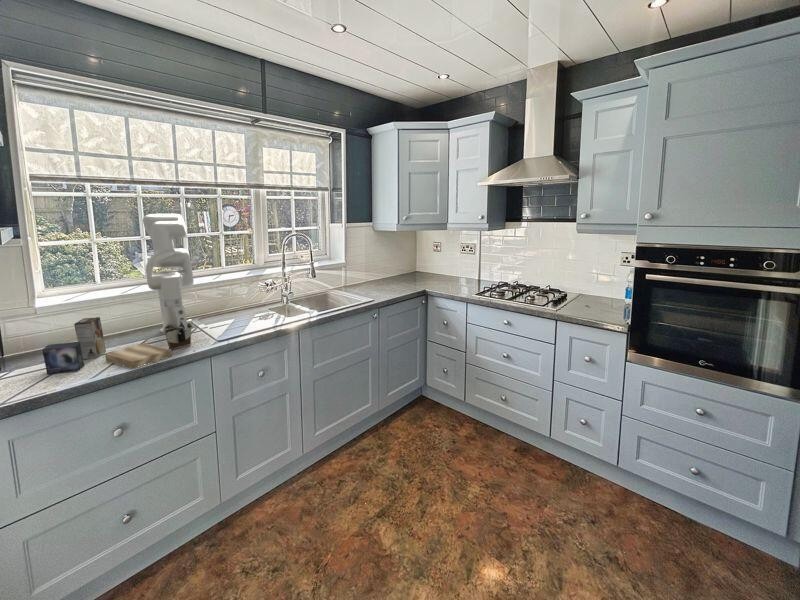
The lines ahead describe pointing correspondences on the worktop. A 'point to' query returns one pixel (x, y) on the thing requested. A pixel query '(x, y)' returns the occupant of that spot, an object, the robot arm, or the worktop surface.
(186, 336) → the food container
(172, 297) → the robot arm
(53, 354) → the small box
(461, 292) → the worktop surface
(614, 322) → the worktop surface
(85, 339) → the coffee box
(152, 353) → the oak base
